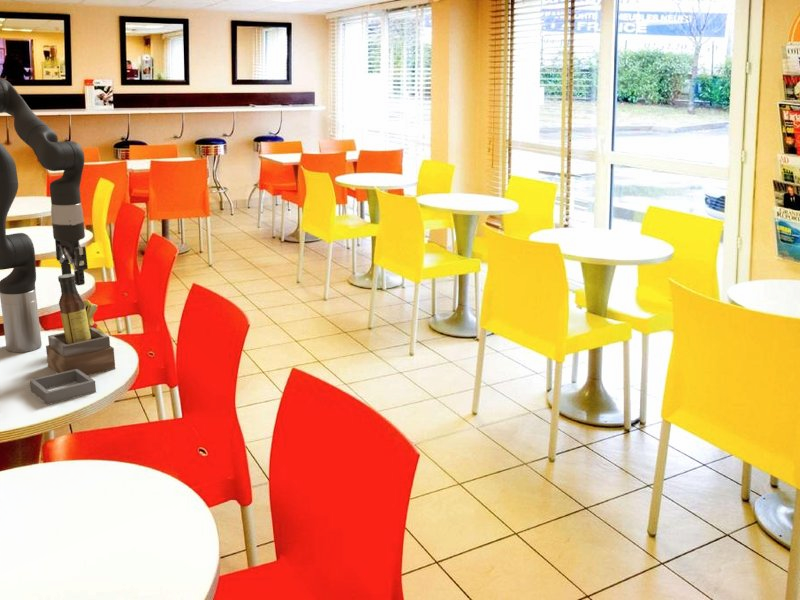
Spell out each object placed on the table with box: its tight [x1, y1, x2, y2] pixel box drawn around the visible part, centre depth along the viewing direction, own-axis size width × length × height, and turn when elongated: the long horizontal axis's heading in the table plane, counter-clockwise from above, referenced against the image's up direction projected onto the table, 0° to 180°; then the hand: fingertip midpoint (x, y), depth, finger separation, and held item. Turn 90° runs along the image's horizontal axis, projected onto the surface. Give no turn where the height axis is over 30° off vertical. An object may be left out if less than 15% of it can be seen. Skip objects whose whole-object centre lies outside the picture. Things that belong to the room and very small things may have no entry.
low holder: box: [29, 369, 97, 405], centre depth 193 cm, size 11×12×3 cm
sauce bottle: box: [57, 273, 91, 344], centre depth 205 cm, size 6×6×20 cm
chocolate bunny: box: [82, 298, 107, 335], centre depth 220 cm, size 7×11×15 cm, turn 105°
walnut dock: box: [45, 327, 116, 376], centre depth 208 cm, size 13×13×9 cm
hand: (73, 281), depth 202 cm, fingers open, 8 cm apart
